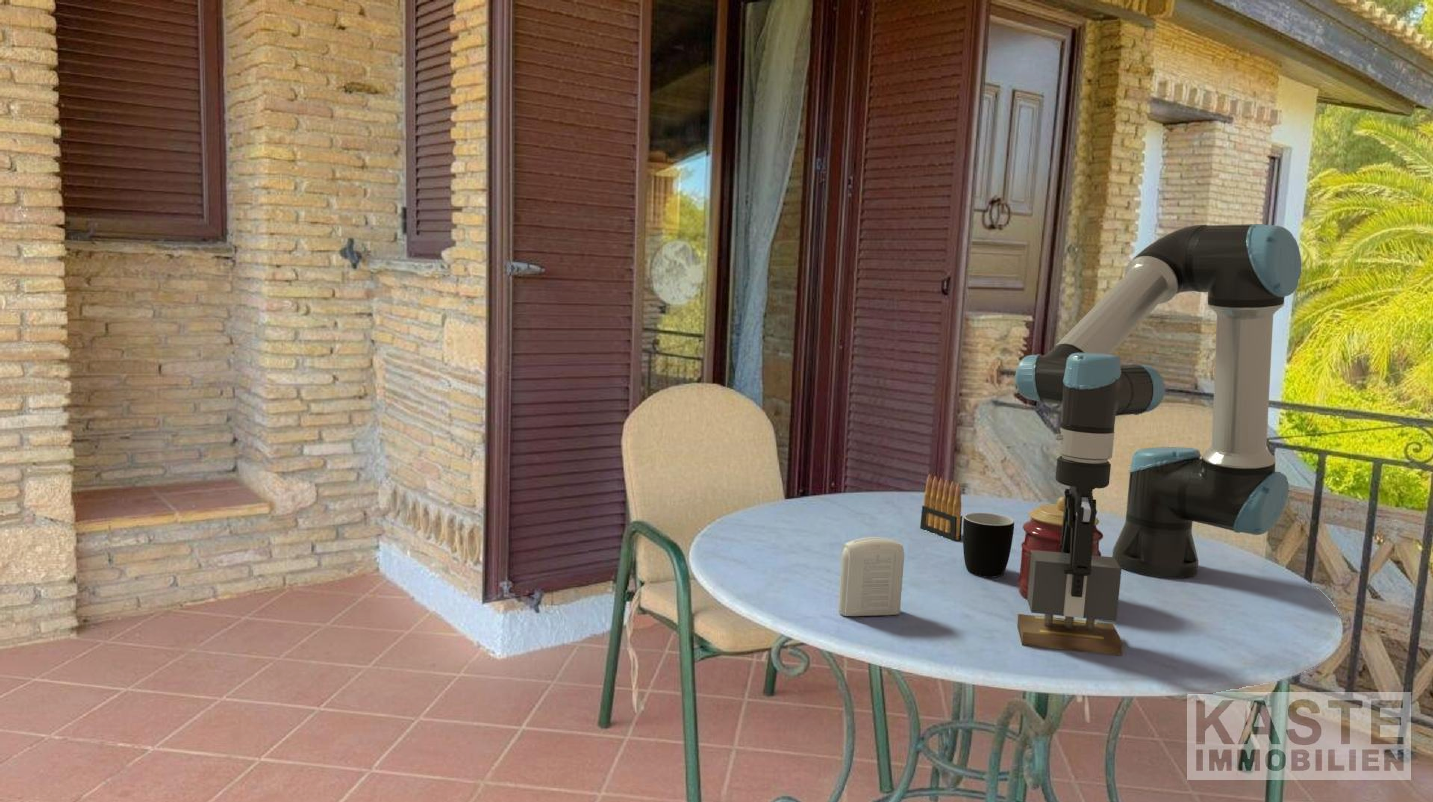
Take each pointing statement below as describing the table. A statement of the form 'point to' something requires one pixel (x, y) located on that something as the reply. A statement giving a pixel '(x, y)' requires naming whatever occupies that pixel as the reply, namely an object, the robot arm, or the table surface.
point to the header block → (1069, 634)
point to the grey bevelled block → (1051, 585)
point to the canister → (1046, 537)
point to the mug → (987, 543)
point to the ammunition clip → (942, 509)
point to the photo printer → (871, 577)
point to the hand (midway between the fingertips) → (1069, 608)
